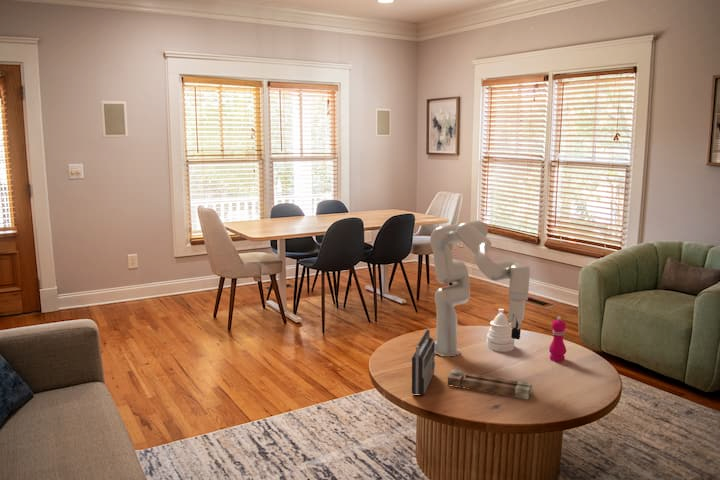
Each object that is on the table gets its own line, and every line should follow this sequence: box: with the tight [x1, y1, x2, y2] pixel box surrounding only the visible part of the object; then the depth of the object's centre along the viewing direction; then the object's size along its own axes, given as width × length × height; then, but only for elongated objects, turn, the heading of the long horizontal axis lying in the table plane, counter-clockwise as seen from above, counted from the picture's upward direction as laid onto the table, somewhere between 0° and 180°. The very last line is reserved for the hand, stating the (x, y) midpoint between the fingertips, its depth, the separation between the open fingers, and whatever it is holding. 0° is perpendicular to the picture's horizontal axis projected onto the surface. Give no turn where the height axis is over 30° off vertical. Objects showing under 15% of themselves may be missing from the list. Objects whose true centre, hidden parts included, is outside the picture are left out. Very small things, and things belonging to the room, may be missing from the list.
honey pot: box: [486, 308, 515, 352], centre depth 287 cm, size 13×13×18 cm
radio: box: [411, 328, 436, 396], centre depth 245 cm, size 24×5×20 cm, turn 163°
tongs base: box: [447, 369, 531, 400], centre depth 242 cm, size 32×8×4 cm, turn 64°
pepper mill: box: [548, 316, 567, 363], centre depth 270 cm, size 7×7×20 cm
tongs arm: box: [464, 372, 533, 395], centre depth 242 cm, size 26×3×4 cm, turn 64°
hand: (515, 338), depth 246 cm, fingers closed
